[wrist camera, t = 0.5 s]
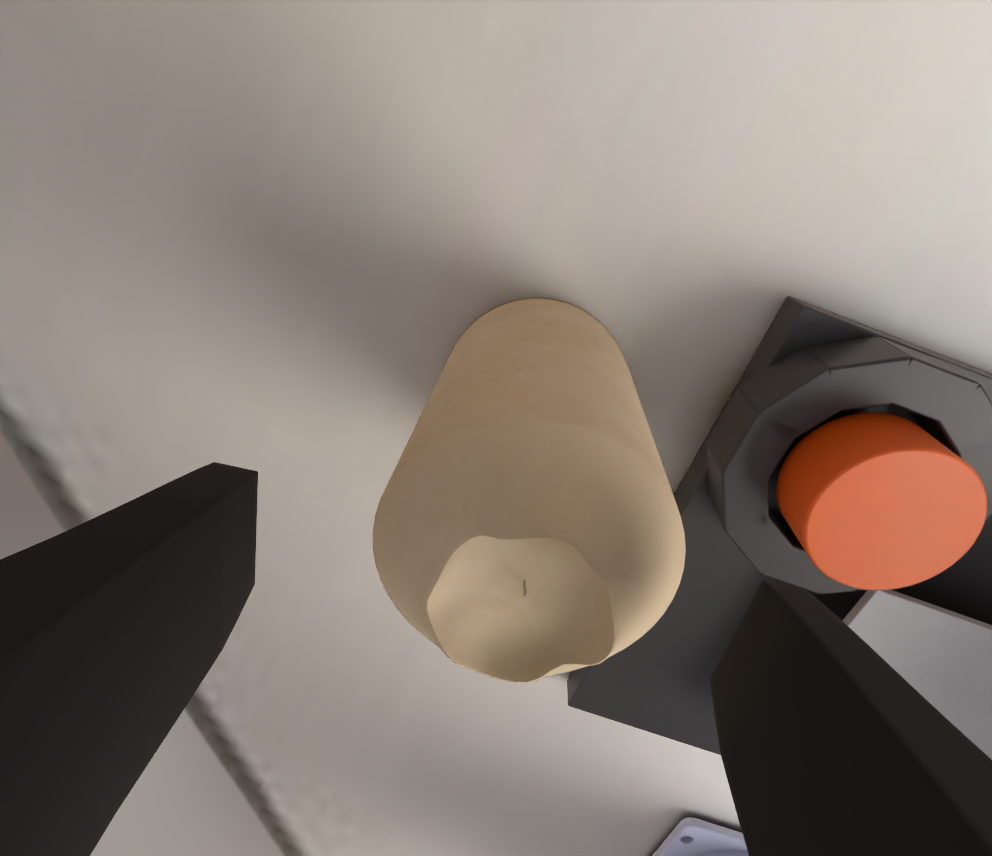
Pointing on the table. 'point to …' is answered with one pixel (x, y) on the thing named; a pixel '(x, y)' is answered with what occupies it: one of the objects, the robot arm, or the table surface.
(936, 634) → the tower
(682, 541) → the candle
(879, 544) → the button
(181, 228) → the table surface
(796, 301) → the grey base plate
